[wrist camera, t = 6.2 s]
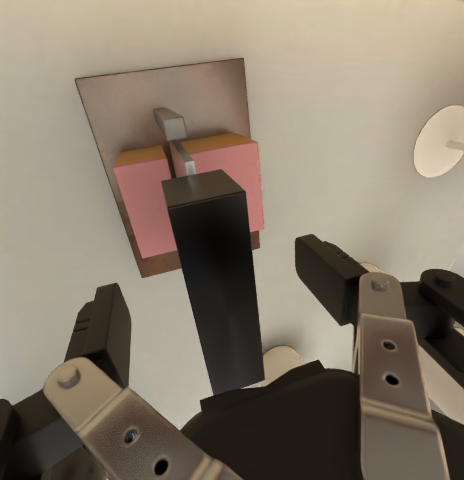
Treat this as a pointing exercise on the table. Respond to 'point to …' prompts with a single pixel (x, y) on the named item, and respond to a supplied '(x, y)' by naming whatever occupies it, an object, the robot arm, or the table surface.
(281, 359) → the cup
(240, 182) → the cake
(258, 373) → the black handled scraper
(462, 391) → the cylindrical container
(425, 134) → the wineglass
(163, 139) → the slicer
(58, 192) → the table surface
